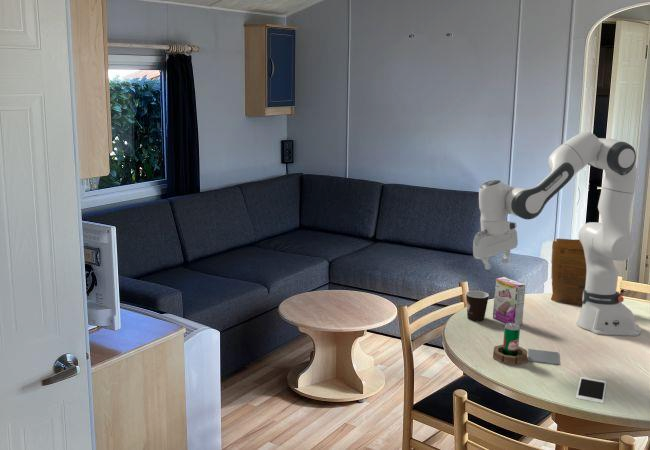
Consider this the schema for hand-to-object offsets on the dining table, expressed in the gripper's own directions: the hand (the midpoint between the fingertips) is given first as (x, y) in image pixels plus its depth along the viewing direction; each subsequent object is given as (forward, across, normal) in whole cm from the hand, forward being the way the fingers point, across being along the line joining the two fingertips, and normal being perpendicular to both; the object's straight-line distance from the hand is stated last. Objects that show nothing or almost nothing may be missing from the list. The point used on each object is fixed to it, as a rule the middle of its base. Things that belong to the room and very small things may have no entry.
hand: (497, 265), depth 254 cm
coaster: (+30, 0, -17) cm, 35 cm away
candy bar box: (+28, +18, +12) cm, 35 cm away
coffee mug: (+26, +11, +22) cm, 36 cm away
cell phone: (+34, -8, -40) cm, 53 cm away
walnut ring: (+29, -9, -10) cm, 32 cm away
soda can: (+29, -9, -10) cm, 32 cm away
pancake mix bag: (+31, +56, +10) cm, 65 cm away
